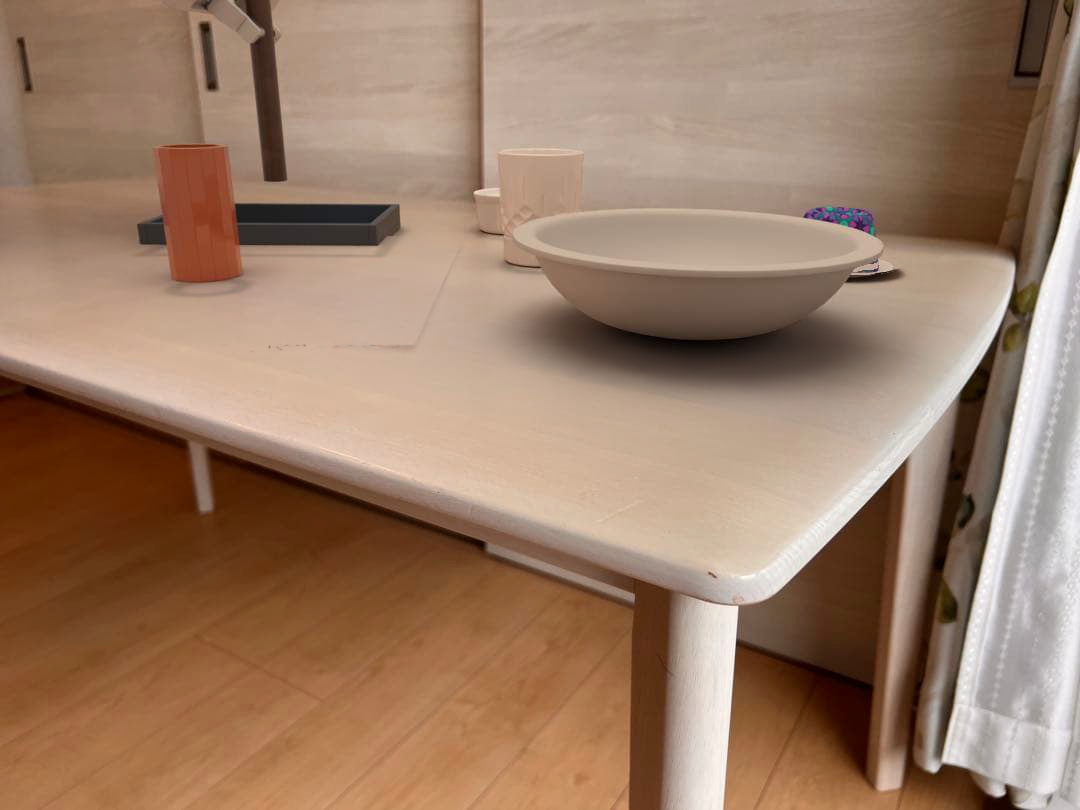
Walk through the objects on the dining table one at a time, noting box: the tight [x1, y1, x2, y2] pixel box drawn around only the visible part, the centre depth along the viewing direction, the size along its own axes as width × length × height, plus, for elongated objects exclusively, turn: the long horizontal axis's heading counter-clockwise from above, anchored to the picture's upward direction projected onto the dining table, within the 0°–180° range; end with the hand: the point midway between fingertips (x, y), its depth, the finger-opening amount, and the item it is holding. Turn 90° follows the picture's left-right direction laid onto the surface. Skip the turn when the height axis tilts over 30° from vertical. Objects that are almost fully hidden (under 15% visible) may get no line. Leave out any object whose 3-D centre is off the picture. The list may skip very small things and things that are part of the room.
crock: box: [151, 142, 244, 284], centre depth 70 cm, size 6×6×11 cm
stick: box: [245, 0, 288, 183], centre depth 87 cm, size 2×2×20 cm
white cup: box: [497, 147, 585, 268], centre depth 80 cm, size 8×8×10 cm
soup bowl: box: [512, 207, 885, 341], centre depth 58 cm, size 24×24×7 cm
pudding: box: [802, 206, 893, 278], centre depth 78 cm, size 12×12×5 cm
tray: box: [136, 202, 402, 247], centre depth 92 cm, size 24×16×3 cm, turn 90°
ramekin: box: [473, 187, 505, 235], centre depth 98 cm, size 9×9×4 cm
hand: (267, 39), depth 86 cm, fingers closed on stick, 2 cm apart
